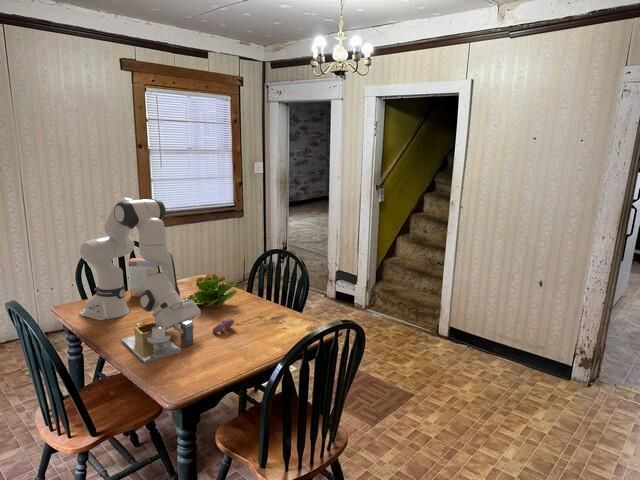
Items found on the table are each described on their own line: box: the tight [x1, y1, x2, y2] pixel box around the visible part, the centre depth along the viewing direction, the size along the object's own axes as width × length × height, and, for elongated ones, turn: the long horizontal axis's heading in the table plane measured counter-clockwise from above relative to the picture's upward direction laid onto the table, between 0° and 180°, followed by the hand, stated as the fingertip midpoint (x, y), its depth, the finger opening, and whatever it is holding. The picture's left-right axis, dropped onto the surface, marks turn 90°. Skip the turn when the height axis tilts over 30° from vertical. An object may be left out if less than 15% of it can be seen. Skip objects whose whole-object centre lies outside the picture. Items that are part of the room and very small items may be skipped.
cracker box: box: [128, 257, 159, 298], centre depth 236 cm, size 14×6×21 cm, turn 93°
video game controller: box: [212, 317, 235, 334], centre depth 197 cm, size 10×5×7 cm, turn 149°
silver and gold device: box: [121, 321, 182, 365], centre depth 178 cm, size 26×15×12 cm, turn 43°
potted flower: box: [183, 273, 238, 308], centre depth 227 cm, size 25×24×18 cm
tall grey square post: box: [179, 320, 194, 347], centre depth 183 cm, size 4×4×10 cm
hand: (187, 331), depth 182 cm, fingers closed on tall grey square post, 4 cm apart
